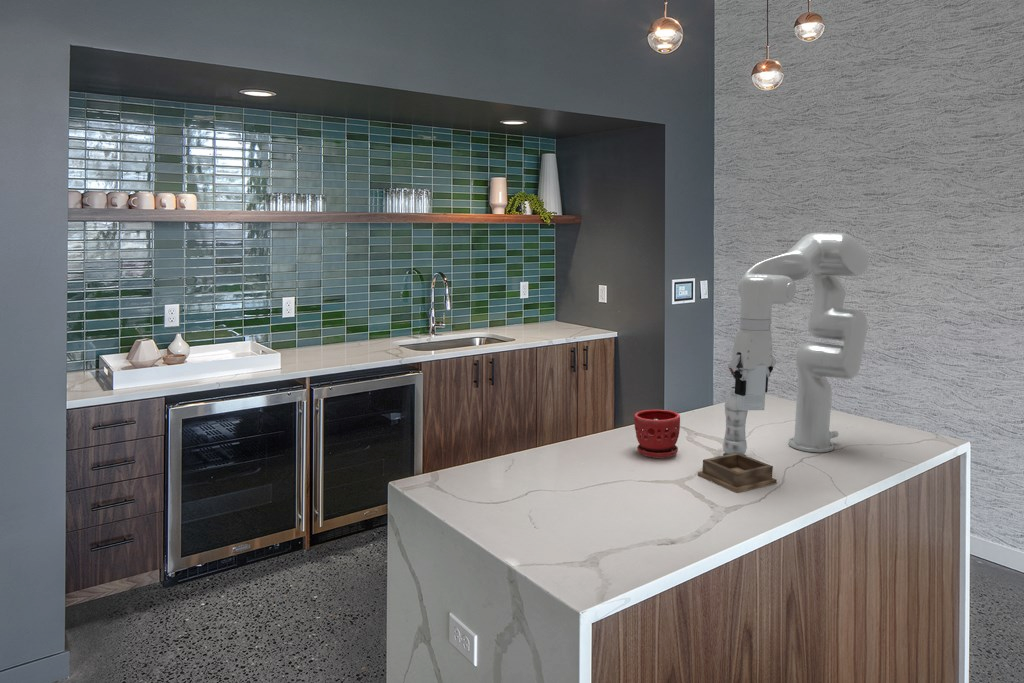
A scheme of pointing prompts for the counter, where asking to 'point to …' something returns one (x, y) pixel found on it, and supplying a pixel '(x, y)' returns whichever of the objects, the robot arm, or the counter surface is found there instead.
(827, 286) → the robot arm
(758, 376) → the skincare box
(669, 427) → the plant pot
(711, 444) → the counter surface
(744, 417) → the plastic bottle
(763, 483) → the square wooden tray
